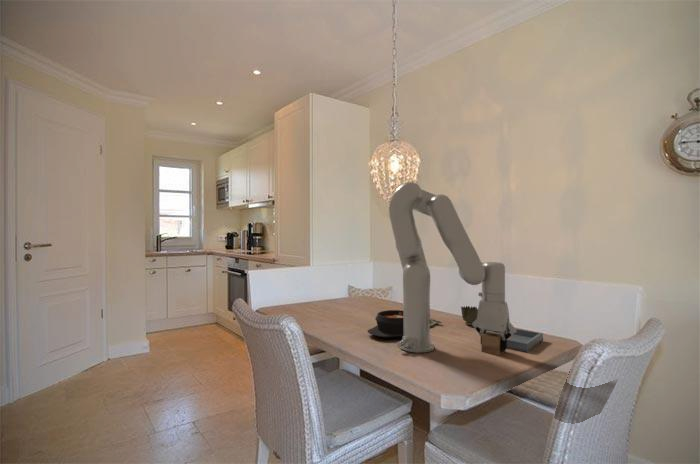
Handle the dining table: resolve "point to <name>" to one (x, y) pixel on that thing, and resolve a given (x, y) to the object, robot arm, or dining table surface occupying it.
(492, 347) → the walnut block
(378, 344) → the dining table surface
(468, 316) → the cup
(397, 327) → the casserole
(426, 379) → the dining table surface
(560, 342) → the dining table surface
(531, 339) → the tray
